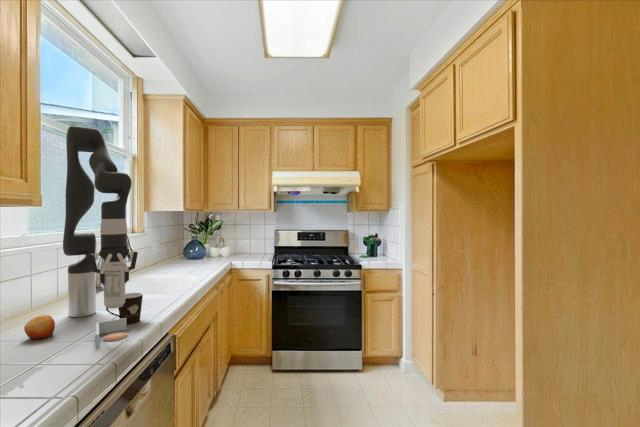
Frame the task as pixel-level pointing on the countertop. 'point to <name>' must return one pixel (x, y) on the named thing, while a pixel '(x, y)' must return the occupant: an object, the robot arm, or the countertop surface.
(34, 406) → the countertop surface
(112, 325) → the acrylic fence
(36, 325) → the fruit
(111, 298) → the energy drink can
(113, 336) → the pad
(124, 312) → the coffee mug
